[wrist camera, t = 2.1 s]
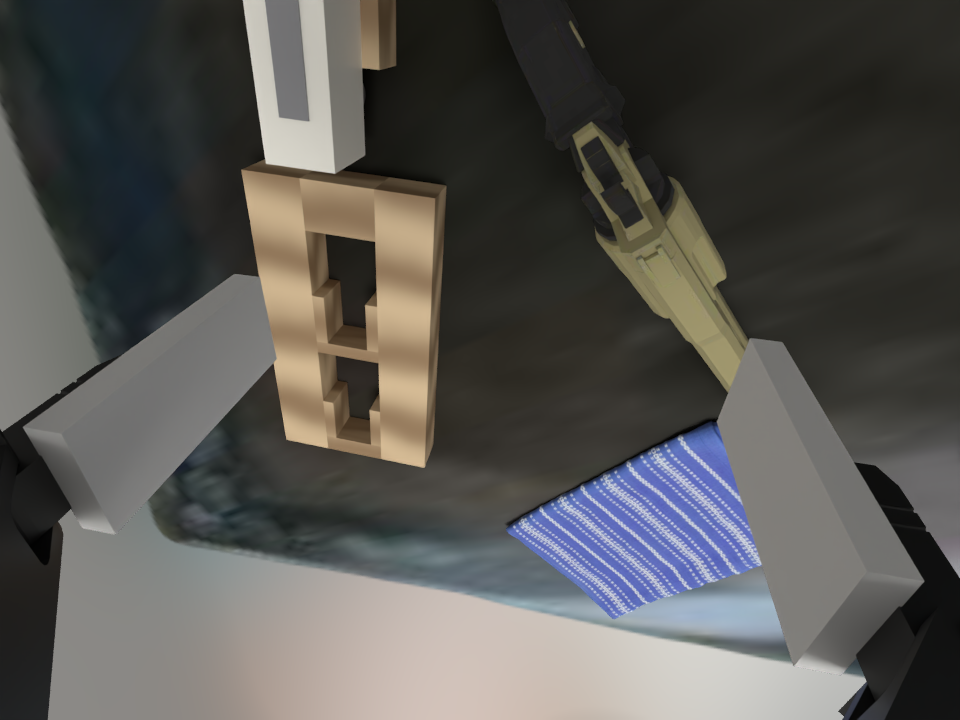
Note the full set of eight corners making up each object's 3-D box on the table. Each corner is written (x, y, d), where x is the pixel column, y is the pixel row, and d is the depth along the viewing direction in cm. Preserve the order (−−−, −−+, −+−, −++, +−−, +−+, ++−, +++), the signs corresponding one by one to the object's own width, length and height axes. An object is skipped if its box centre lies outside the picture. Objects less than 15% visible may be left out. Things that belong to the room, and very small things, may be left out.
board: (265, 159, 36) (241, 169, 34) (446, 185, 35) (435, 198, 32) (301, 418, 50) (286, 439, 47) (433, 444, 48) (424, 467, 46)
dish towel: (829, 527, 46) (841, 554, 44) (612, 605, 58) (613, 629, 56) (716, 406, 41) (723, 430, 39) (505, 518, 53) (501, 541, 51)
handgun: (540, -77, 25) (609, 57, 15) (734, 278, 44) (825, 448, 34) (472, -11, 27) (490, 148, 17) (686, 302, 46) (757, 470, 36)
